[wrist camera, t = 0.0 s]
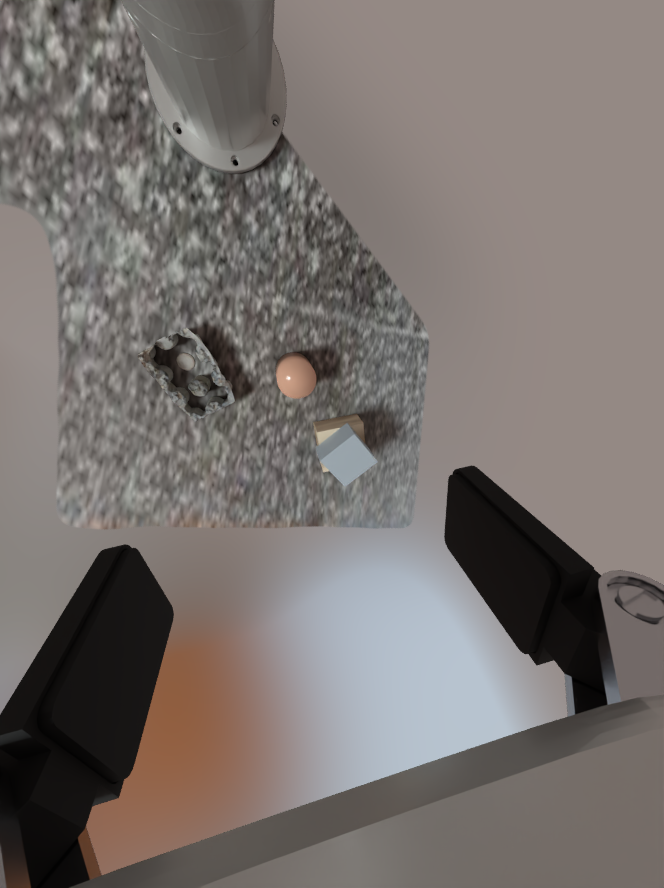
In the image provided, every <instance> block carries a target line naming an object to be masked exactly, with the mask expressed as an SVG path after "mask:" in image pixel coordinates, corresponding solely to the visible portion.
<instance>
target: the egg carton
mask: <svg viewBox="0 0 664 888" xmlns="http://www.w3.org/2000/svg"><path fill="white" fill-rule="evenodd" d="M177 333H178V334H180V335H181V336H183V337H187V338H193V339H194V340H196V342H197V344H198V345H197V347H196V351H195V352H196V355H197V357H198V358H199V359H200V361H201V362H205V363H207V362H210V361H211V362H212V366H213V367H215V368H213V370H214V371H213V373H212V375H211V376H212V378H213V382H214V383H215V384H216V385H218V386H225V387H226V391H225V392H226V393H227V394H228V398H227V399H225V400H224V399H222V398H220V397H216V396H215V397H212V398H210V399H209V401H208V403H207V406H206V408H205V411H203V410H201V409H200V408H191V407H190V406H189V405H188V403H187V402H188V400H189V398H190V395H189V392H188V391H187V390H186V389H184V388H182V387H175V386H174V385H173V384H172V383H171V382H170V381H171V380H172V379H173V372H172V370H171V369H170V368H169V367H167V366H165V365H159V366H158V365H157V363H156V362H155V361H154V359H153V358H154V357H155V354H156V351H155V348H154V346H155V345H157V346H158V347H159V348H161V349H164V350H167V349H171V348H173V347H174V346H175V345H176V344H177V343H178V335H177ZM155 345H153V346H152V347H150V348H148V349H146V350H144V351H143V352H141V353H139V354H138V358H139V359H140V361H141V362H142V364H143V366H144V367H145V368H146V369H147V371H148V372H149V373H150V374H151V375H152V377H153V378H155V379H156V380H157V381H158V383H159V384H160V386H161V387H162V389H164V390H165V391H166V393H167V394H168V395H169V396H170V398H171V399H172V401H173V402H174V403H175V404H176V405H177V406H178V407H180V408H181V409H182V410H183V411H184V412H185V413H187V414H188V415H189V416H190V418H191V419H192V420H193V421H197V420H199V419H200V418H202V417H206V416H208V415H209V414H211V413H214V412H216V411H218V410H220V409H222V408H224V407H226V406H228V405H230V404H232V403H233V402H235V399H234V396H233V393H232V391H231V390H232V384H231V382H230V381H229V380H225V377H224V376H223V375H222V374H221V372H220V370H219V368H218V363H217V362H216V360H215V359H214V358H212V356H211V354H210V352H209V351H208V349H207V348H206V347H205V345H204V344H203V343H202V339H201V338H200V336H199V335H198V334H194V333H192V332H191V331H190V330H189V329H188V328H184V329H183V330H181V331H180V332H176V333H174V334H172V335H170V336H169V337H168V338H166V337H163V338H161V339H159V340H157V341H156V343H155ZM176 360H177V364H178V366H179V367H180V368H181V369H183V370H191V369H192V368H193V367H194V366H195V361H194V358H193V357H192V356H191V355H190V354H187V353H181V354H179V355H178V357H177V359H176ZM210 387H211V382H210V380H209V379H208V378H207V377H205V376H201V375H200V376H197V377H195V378H194V379H193V381H192V382H191V383H190V384H189V386H188V388H189V390H191V392H192V393H193V394H194V395H195V396H200V397H201V396H205V395H207V393H208V391H209V389H210Z"/></svg>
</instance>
